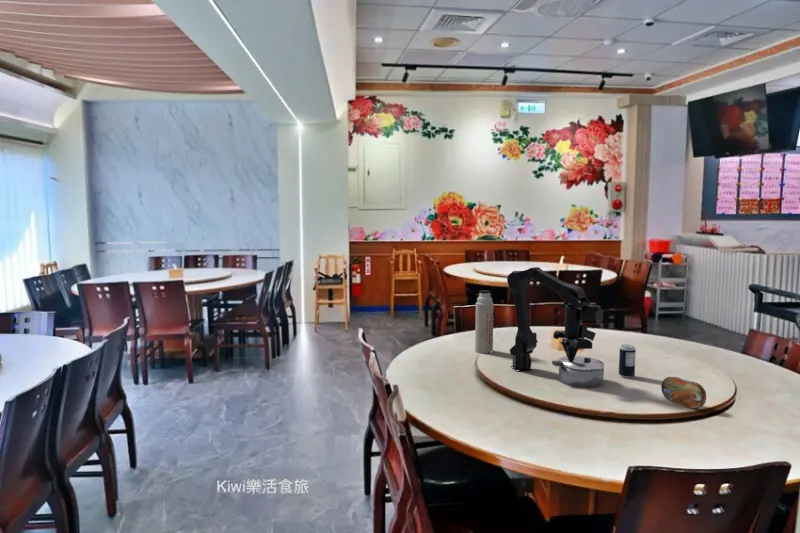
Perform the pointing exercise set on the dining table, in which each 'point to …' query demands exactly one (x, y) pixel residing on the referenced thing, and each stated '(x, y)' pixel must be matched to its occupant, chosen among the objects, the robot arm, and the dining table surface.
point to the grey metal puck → (581, 377)
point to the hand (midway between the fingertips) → (571, 362)
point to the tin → (683, 392)
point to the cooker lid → (580, 363)
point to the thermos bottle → (484, 323)
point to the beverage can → (627, 361)
